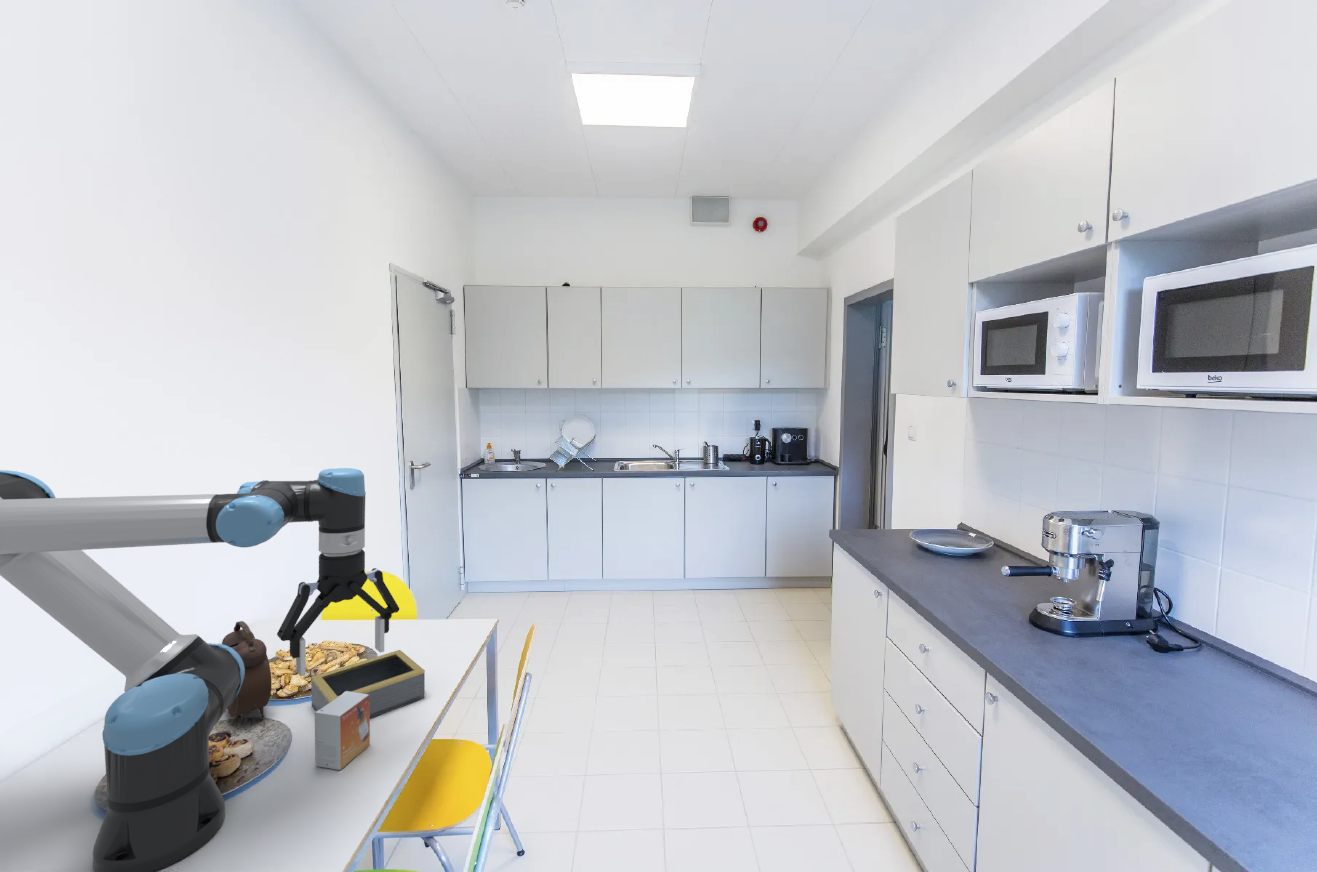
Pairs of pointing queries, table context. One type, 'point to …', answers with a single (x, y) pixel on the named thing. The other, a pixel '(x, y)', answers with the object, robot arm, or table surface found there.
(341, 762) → the small box
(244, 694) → the alarm clock
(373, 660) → the box
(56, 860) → the table surface
